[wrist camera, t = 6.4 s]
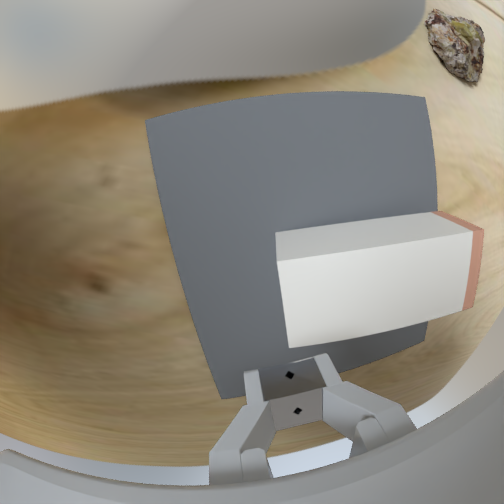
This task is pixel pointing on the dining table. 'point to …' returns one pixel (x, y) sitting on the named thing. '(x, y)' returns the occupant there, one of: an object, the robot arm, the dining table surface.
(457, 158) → the dining table surface
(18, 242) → the dining table surface
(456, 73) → the mineral rock
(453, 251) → the cream block
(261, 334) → the rubber mat
